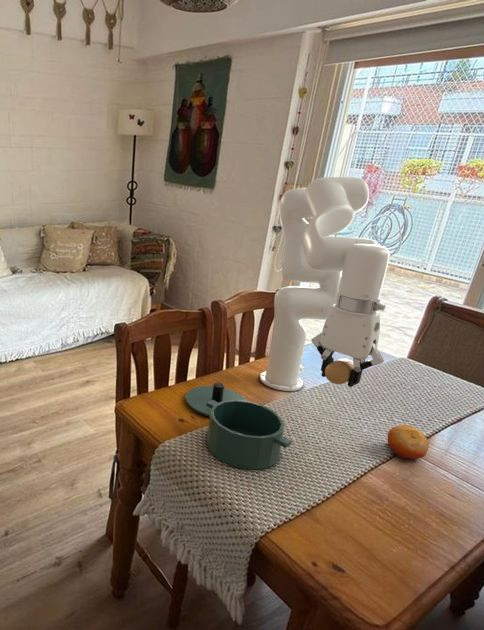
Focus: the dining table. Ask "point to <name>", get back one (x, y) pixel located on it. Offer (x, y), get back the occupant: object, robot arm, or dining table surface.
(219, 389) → the lid
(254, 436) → the pot
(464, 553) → the dining table surface
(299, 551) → the dining table surface
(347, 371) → the tan rounded piece
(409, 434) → the fruit
